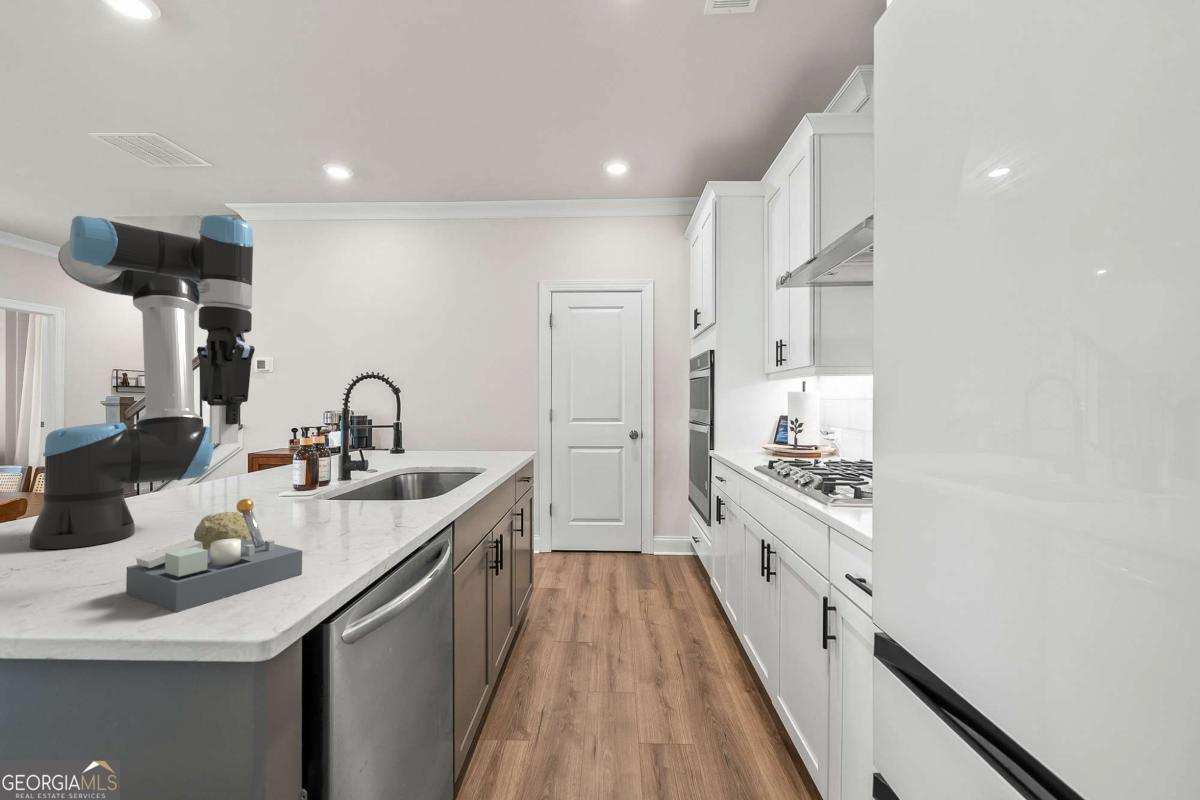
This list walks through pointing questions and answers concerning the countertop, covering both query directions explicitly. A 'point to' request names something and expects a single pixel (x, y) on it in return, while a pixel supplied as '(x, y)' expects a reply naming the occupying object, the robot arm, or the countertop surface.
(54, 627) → the countertop surface
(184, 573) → the button square
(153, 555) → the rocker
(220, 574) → the panel
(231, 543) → the button round
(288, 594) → the countertop surface
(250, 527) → the lever
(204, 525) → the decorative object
